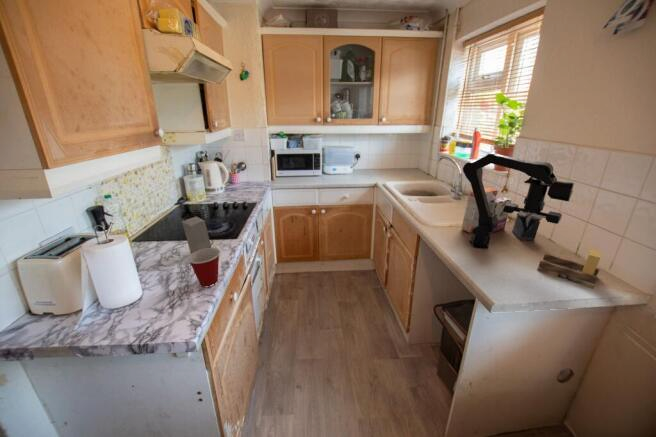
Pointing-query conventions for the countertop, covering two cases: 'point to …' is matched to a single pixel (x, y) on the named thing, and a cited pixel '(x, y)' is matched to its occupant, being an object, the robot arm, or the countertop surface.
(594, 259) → the block
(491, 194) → the cracker box
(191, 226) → the skincare box
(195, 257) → the plastic cup
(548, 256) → the board
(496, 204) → the candy bar box
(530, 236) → the small box
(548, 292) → the countertop surface
